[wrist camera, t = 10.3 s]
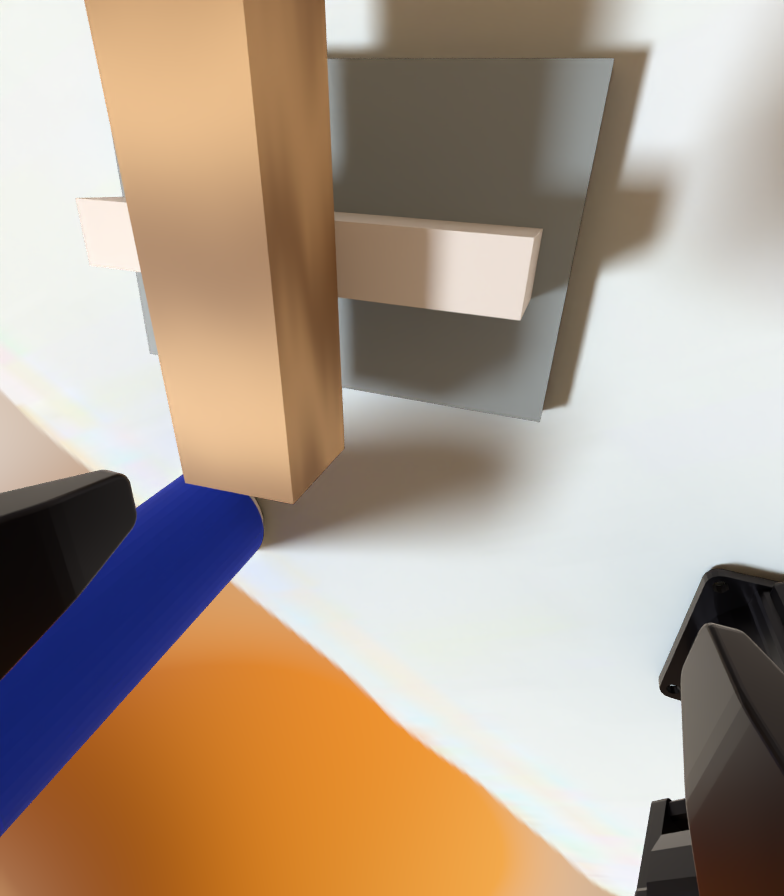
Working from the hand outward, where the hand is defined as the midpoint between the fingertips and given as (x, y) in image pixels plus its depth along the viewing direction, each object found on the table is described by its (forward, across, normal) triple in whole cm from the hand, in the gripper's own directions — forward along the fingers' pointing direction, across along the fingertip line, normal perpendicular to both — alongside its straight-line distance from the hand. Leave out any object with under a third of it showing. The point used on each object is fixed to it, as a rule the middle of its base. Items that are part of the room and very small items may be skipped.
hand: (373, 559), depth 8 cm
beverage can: (+12, +12, +10) cm, 20 cm away
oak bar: (+8, +6, -3) cm, 10 cm away
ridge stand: (+12, +6, -3) cm, 14 cm away
